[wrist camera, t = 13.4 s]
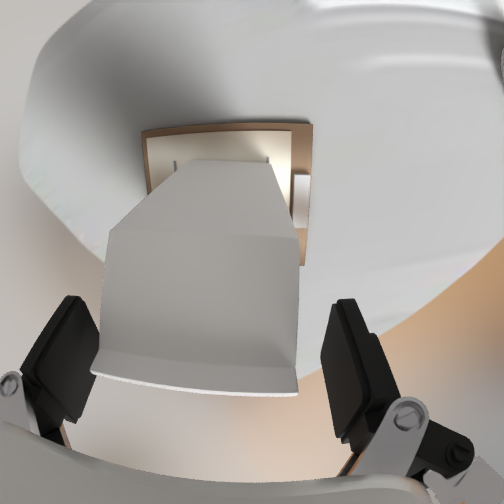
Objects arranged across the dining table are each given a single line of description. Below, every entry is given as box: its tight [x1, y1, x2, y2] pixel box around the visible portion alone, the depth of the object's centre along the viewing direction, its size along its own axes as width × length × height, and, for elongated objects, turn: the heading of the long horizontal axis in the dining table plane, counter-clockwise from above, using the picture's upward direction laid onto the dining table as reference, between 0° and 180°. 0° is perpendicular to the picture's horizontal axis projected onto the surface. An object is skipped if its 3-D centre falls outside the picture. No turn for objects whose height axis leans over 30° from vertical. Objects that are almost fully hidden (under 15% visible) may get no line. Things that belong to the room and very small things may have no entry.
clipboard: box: [142, 123, 313, 266], centre depth 25 cm, size 14×15×1 cm
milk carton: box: [90, 160, 300, 397], centre depth 16 cm, size 7×7×19 cm
